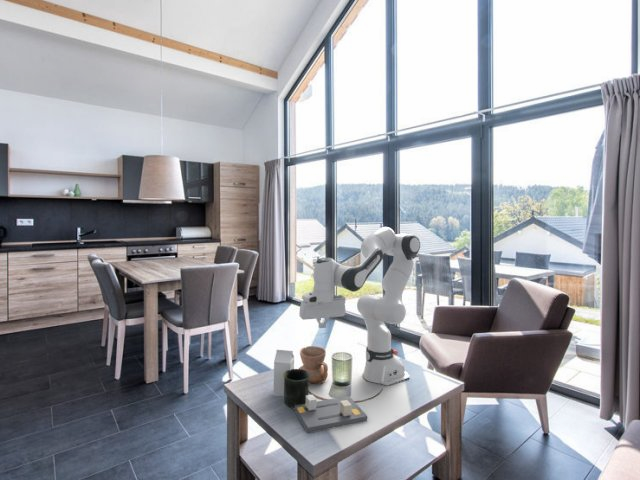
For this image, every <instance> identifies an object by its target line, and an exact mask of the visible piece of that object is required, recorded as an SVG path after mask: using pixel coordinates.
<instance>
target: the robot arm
mask: <svg viewBox="0 0 640 480" xmlns="http://www.w3.org/2000/svg"><path fill="white" fill-rule="evenodd" d="M420 249H421V242H420V239H419V237H418V236H417V235H415V234H411V233H397V234H396V232H395V231H394V230H393V229H392V228H391V227H388V226H382V227H380V228H378V229H376V230H375V231H374V232H372V233H370V234H369V235H368V236H366V238H364V240H362V242H361V245H360V250H361V253H362V255H363V257H364V258H365V259H364V260H363V261H362V262H361V263H360V264H359V265H357V266H348V265H345V264H341V263H339V262H338V261H337V262H336V261H335V260H334V259H333V258H332V257H321V258H320V257H319V258H318V259H317V260H316V261H315V263H314V267H313V283H314V284H313V287H312V289H313V290H312V291H309V292H306V293H304V294H302V296H301V299H302V301H301V303H300V306H299V313H298V314H299V315H298V316H299V317H300V319H301V320H303V321H304V320H316V322H317V324H318V328H319V329H324V328H325V329H326V328H327V325H328V322H329V320H330V318H341V317H345V315H346V297H345V296H344V295H343V294H337V295H336V294H335V287H339V288H342V289H345V290H347V291H350V292H353V293H354V292H355V293H356V292H358V291H360V290H361V288H362V287H363V286H364V285H365V283H366V281H367V279H369V277H370V275H371V274H372V273H373V272H374V271H375V270H376V268H377V267H378V266H379V265H380V264H381V263H382V260H383V258H384V255H385V256H387V257H388V256H389V257H393V260H392V262H391V264H390V265H389V267H388V269H387V271H386V273H385V275H383V276H384V277H383V278H382V280H381V287H382V289H383V290H384V295H383V296H378V295H375V294H363V295H361V296H360V297H359V298H358V300H357V302H356V307H357V311H358V313H359V314H360V315H361V316H362V317H361V318H363V321H364V324H365V326H366V331H367V341H366V342H367V343H366V344H367V345H366V349H365V366H364V369H363V373H362V377H363V379H364V380H366V381H368V382H370V383H375V384H380V383H381V385H383V386H390V384H391V385H394V384H396V383H395V382H397V383H399V382H398V381H400V382H402V381H401V380H404V379H407V378H409V379H410V374H409V373H408V372H407V370H405V365H404V363H402V361H401V359H399V358H397V357H396V356H398V352H399V351H398V350H396V349H393V348H392V347H391V345H392V334H391V331H390V329H389V328H388V327H387V326H386V324H385V323H387V324H394V325H399V324H402V322H404V320H405V319H406V315H407V313H406V312H407V311H406V307H405V305H404V303H403V298H402V297H403V294H404V290H405V288H406V286H407V283H408V281H409V279H410V277H411V275H412V272H413V268H414V265H415V263H414V260H413V259H416V258H417V257H416V256H417V255H418V253H419V252H420ZM322 319H324V321H323V322H321V321H322ZM407 380H408V379H407ZM404 381H405V380H404ZM393 383H394V384H393Z"/></svg>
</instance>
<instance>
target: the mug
mask: <svg viewBox="0 0 640 480" xmlns="http://www.w3.org/2000/svg"><path fill="white" fill-rule="evenodd" d="M283 376H284V397H283V403H284V404H285V406H286V407H288V408H291V409H294V406H295V405H300V404H306V396H307V395H309V390H310V389H309V388H310V387H309V385H310V384H309V378H310V374H309V373H308V372H307V371H305V370H302V369H299V368H294V369H291V370H288V371H286V372H285V373H284V374H283Z"/></svg>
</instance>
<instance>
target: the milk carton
mask: <svg viewBox="0 0 640 480" xmlns="http://www.w3.org/2000/svg"><path fill="white" fill-rule="evenodd" d="M291 369H295V355H294V354H293V350H287V349H286V350H285V349H276V352H275V356H274V361H273V396H274V397H283V398H284V376H283V374H284V373H285V372H286V371H288V370H291Z"/></svg>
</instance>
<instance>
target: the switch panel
mask: <svg viewBox="0 0 640 480" xmlns="http://www.w3.org/2000/svg"><path fill="white" fill-rule="evenodd" d="M343 400H348V401H349V403H350V404H351V405H352V408H351V415H349V416H343V414H342V413H341V412H340V401H343ZM293 410H294V412H295V414H296V416H297V418H299V420H300V422H301V424H302V425H303V427H304V429H305V430H306V432H307V434H311V433H315V432H319V431H320V432H321V431H324V430H329V429H335V428H341V427H345V426H348V425H349V426H350V425H354V424H361V423H364V422H368V415H367V414H366V413H365V411H364V410H362V408H361V407H360V406H359V405H358V404H357V403H356V402H355V401H354V400H353V398H351V397H350V395H349V396H348V395H347V396H342V397H337V398H336V397H335V398H331V399H324V400H319V401H318V400H316V409H315V410H308V408H307V407H306V404H300V405H295V406H294V408H293Z"/></svg>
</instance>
